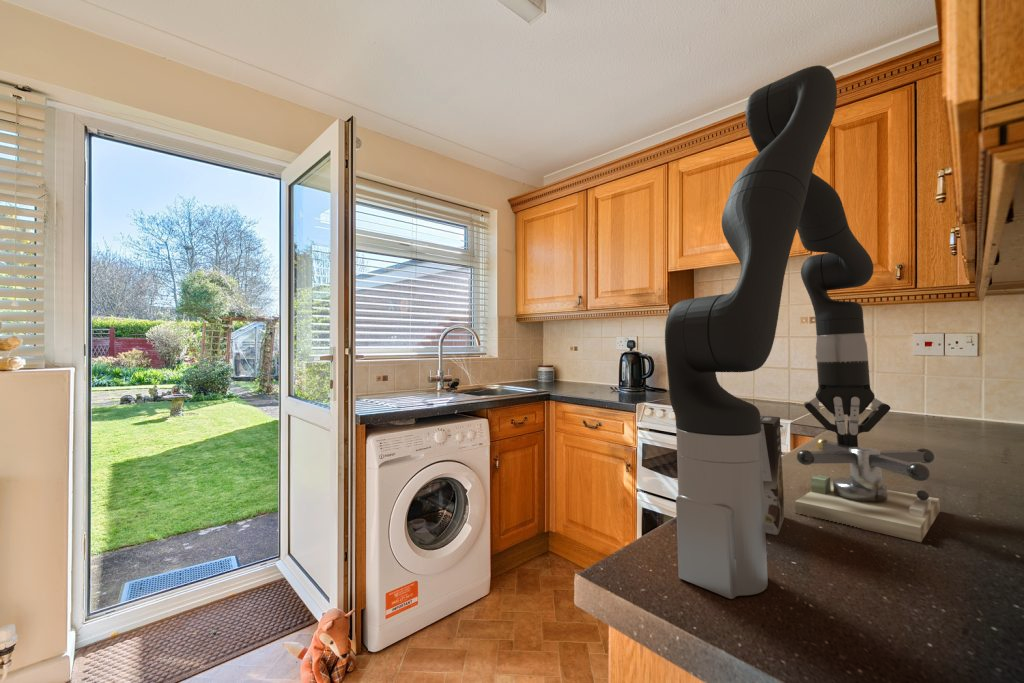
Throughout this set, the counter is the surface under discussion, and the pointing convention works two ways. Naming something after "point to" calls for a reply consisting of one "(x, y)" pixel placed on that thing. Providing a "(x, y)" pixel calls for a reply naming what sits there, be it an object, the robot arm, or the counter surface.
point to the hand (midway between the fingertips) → (848, 454)
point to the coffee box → (772, 474)
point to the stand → (872, 510)
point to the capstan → (868, 467)
